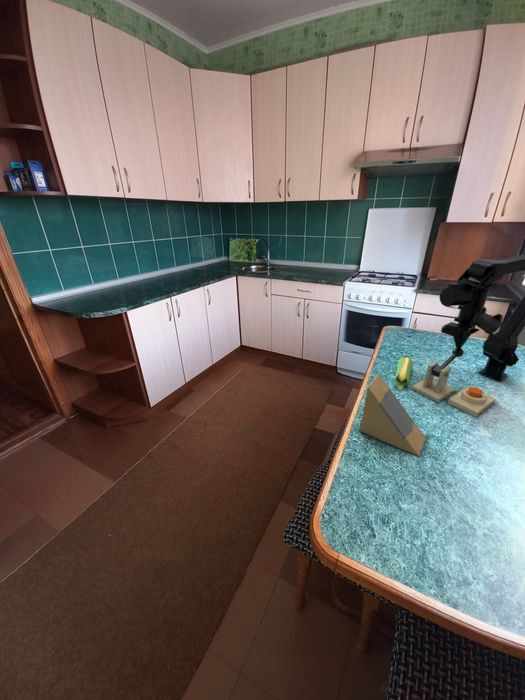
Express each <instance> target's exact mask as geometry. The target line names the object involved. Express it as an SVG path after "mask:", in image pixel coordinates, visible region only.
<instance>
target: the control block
mask: <svg viewBox="0 0 525 700" xmlns="http://www.w3.org/2000/svg"><path fill="white" fill-rule="evenodd" d="M469 387H470V386H466V387H464V388H462V389H461V391H459V392H457V393H455V394H454V395H453V396H451V397H450V398H449V399H448V401H447V404H449V405H450V406H453V407H455V408H457V409H459V410H460V411H463V412H464V413H467V414H468V415H470V416H473V417H475V418H476V417H478V416H479V415H480V414H481V413H483V412H484V411H485V410H487V409H488V408H489V407H490V406H492V405H493V404H494V403H495V401H496V399H497V397H494V396H491V395H489V394H487V393H485V392H483V393H482V396H481V398H475V397H472V396H469V395H468V394H467V392H468V389H469Z"/></svg>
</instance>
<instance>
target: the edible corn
mask: <svg viewBox="0 0 525 700" xmlns="http://www.w3.org/2000/svg"><path fill="white" fill-rule="evenodd" d="M413 368H414V363H413V360H412V358H411V357H410V356H408V355H404V356H402V357H400V359H399V360H397V367H396V373H395V377H394V380H395V386H397V389H398V391H400V390H403V388H405V386H408V385H409V384H410V378H411V375H412V372H413V371H412V370H413Z"/></svg>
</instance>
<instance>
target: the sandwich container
mask: <svg viewBox="0 0 525 700" xmlns="http://www.w3.org/2000/svg"><path fill="white" fill-rule="evenodd" d="M365 394H366V395H365V401H364V406H363V411H362V418H361V423H360V429H359V431H360V432H361V433H364V434H366V435H369V436H370V437H372V438H375V439H377V440H380V441H381V442H384V443H386V444H389V445H390V446H394V447H396V448H398V449H401V450H403V451H406V452H408V453H410V454H413V455H415V456H417V457H419V456H420V455H421V453H422V450H423V448H424V445H425V441H426V436H425V434H424V433H423V432H422V430H421V429H420V428H419V426H418V425H417V423H415V421H414V420H413V418H412V417H411V416H410V415H409V413H408V412H407V410H406V409H405V408H404V406H403V405H402V403H401V402H400V401H399V399H398V398H397V397H396V396H395V394H394V393H393V391H392V390H391V388H390V387H389V385H388V384H387V383H386V381H385V380H384V379H383V377H382V375H381V374H380V373H377V374H376V376H375V377H374V379H373V380H372V381H371V382H370V383H369V385H368V386H367V389H366V393H365Z"/></svg>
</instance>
